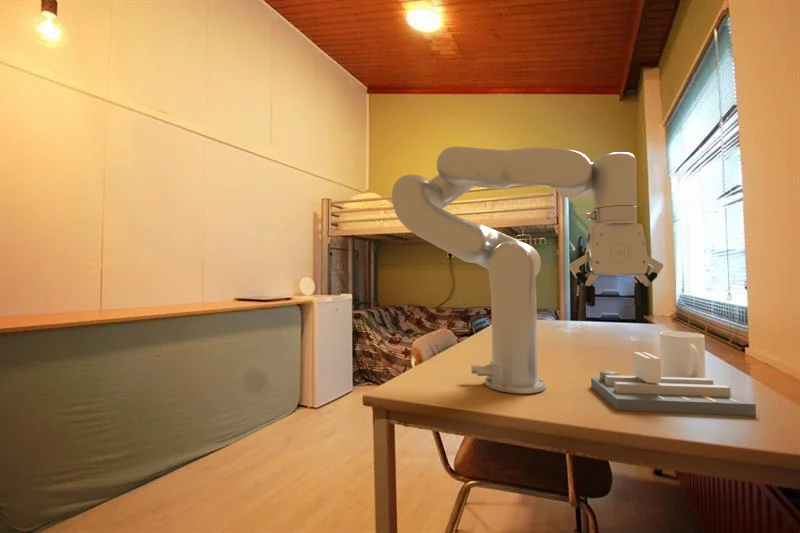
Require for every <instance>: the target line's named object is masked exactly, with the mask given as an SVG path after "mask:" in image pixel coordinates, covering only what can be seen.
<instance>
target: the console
mask: <svg viewBox="0 0 800 533" xmlns="http://www.w3.org/2000/svg"><path fill="white" fill-rule="evenodd" d="M636 377H637V376H636V375H620V373H619V372H616V371H612V370H601V371H599V377H591V378H590V382H591V384H590V388H592V389H593V390H594V391H595V392H596V393H597V394H598V395H599V396H601V398H603V399H604V400H605V401H606V402H607V403H608V404H610V405H611V406H612V407H613V408H614V409H615V410H616V411H628V412H629V411H630V412H631V411H632V412H633V411H634V412H650V413H652V412H653V413H654V412H655V413H656V412H657V413H676V414H677V413H679V414H680V413H681V414H683V413H684V414H699V415H700V414H701V415H721V416H722V415H725V416H747V417H748V416H750V417H756V416H757V405H756V403H754V402H752V401H749V400H747V399H745V398H743V397H741V396H739V395H736V394H734V393H732V392H731V387H729V386H728V385H724V384H721V385H720V384H714V380H713V379H712V378H710V377H705V378H684V377H662V376H661V383H639V382H636Z"/></svg>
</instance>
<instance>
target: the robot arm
mask: <svg viewBox="0 0 800 533" xmlns="http://www.w3.org/2000/svg"><path fill="white" fill-rule="evenodd" d="M637 168H638V167H637V159H636V157H635V155H634V154H633V153H630V152H624V151H623V152H622V151H621V152H611V153H607V154H604V155H601V156H598V157H597V158H596V159H595V160H594V161H593V162H591V161H590V159H589V158H588V157H587V155H585V154H583V153H582V152H579V151H578V150H577V151H576V150H574V149H573V150H572V149H564V148H555V147H554V148H553V147H540V146H539V147H538V146H537V147H536V146H535V147H525V148H515V149H514V148H513V149H493V148H483V147H482V148H481V147H471V146H470V147H469V146H450V147H447V148H444V149H443V150H441V152H440V154H439V155H438V156H437V160H436V170H437V172H438V175H437V174H436V176H435V177H433V178H432V179H428V178H426V177H424V176H421V175H419V174H405V175H403V176H400V177H399V178H398V179H397V180H396V181H395V182H394V184H393V186H392V191H391V204H392V206H393V210H394V213H395V215H396V217H397V218H398V220H399V221H400V223H401V224H402V225H403V226H404V228H406V229H407V230H409V231H410V232H411V233H412V234H414V235H415V236H417V237H419V238H421V239H423V240H425V241H426V242H427V243H430V244H432V245H434V246H435V247H437V248H439V249H441V250H443V251H445V252H446V253H448V254H451V255H453V256H454V257H456V258H458V259H459V260H461V261H464V262H466V263H471V264H477V265H479V266H481V267H483V268H485V269H487V270H488V277H489V286H490V299H491V300H490V304H491V306H490V308H491V353H492V354H491V359H492V360H489V364H485V365H479V364H478V365H476V364H472V365H471V367H470V368H471V375H476V376H477V377H483V376H485V379H484V383H485V385H486V386H487V387H488V388H490V389H492V390H494V391H495V390H496V391H498V392H503V393H509V394H523V395H524V394H525V395H526V394H536V393H540V392H543V391H544V390H545V389H546V381H545V380H544V379H542V378H540V377H539V374H538V373H539V372H538V371H539V369H538V368H539V367H538V365H539V364H538V361H539V360H538V314H537V311H538V308H537V307H538V306H537V304H538V303H537V288H536V286H537V285H536V277H537V275H538V274H539V273H540V270H541V266H542V260H541V257H540V254H539V252H538V251H537V250H536V248H534V247H533V246H532V245H530V244H528V243H525V242H522V241H520V239H519V240H518V239H516V238H514V237H512V236H510V235H507V234H505V233H503V232H501V231H498V230H495V229H493V228H491V227H489V226H486V225H484V224H481V223H479V222H475V221H470V220H468V219H464V218H462V217H460V216H457V215H455V214H453V213H451V212H449V211H448V210H445V208H446V207H447V206H448V205H450V204H452V203H453V202H455V201H456V200H457V199H459V198H461V197H462V196H463V195H465V194H466V193H467V192H469V191H470V190H471V189H473V188H474V187H479V188H486V189H495V190H506V189H508V188H511V187H514V186H519V185H520V186H524V185H525V186H536V187H546V188H553V189H555V191H556V192H557V193H558V194H559V195H560V196H562V197H563V198H568V199H575V198H581V197H587V196H591V195H592V210H591V211H590V212H586V214H585V219H586V220H590V221H591V223H592V224H590V226H589V228H588V229H589V230H588V232H587V233H588V234H587V240H586V245H585V246H586V247H585V254H584V255H582V256H581V257H579V258H578V259H576V260H574V261H572V262H571V263H569V264H568V268H569V270H570V271H571V272H572V275H573V276H574V278H575V279H576V280H577V281H578V282H580V283H581V285H583V301H584V303H585V304H586V306H588V307H591V308H592V307H595V306H596V286H594V284H593V283H594V282H595V281H596V280H597V279H598V277H599V276H631V278H632V279H633V281H634V282H635V283H636V285H634V288H633V289H634V290H633V292H634V293H633V296H634V299H633V301H634V306H635V307H640V308H646V303H648V287H649V286H650V285H651V284H652V283H653V282H654V280H656V279H657V278H658V275H659V274H660V272H661V271H662V269H663V268H664V264H663V263H662V262H660V261H658V260H656V259H654V258H653V257H651V256H649V255H648V249H647V240H646V237H645V231H644V227H643V223H638V218H637V216H638V214H637V213H638V211H637V210H638V209H637V208H638V207H637V206H638V203H637V201H638V199H637V197H638V196H637V195H638V194H637V188H638V186H637V185H638V184H637V183H638V182H637V176H638V175H637V173H638V172H637ZM584 264H585V265H584ZM582 265H584V266H585V272H586V274H583V273H582V271H581V270H580V266H582ZM648 267H650V269H649V268H648ZM648 269H649V272H648Z"/></svg>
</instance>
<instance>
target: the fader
mask: <svg viewBox="0 0 800 533" xmlns="http://www.w3.org/2000/svg"><path fill="white" fill-rule="evenodd" d="M632 356H633V376H637V377H636V382H639V383H661V377H662V376H661V360H660V357H658V356H655V355H653V354H651V353H648V352H645V351H633V355H632Z"/></svg>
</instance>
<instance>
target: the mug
mask: <svg viewBox="0 0 800 533" xmlns="http://www.w3.org/2000/svg"><path fill="white" fill-rule="evenodd" d="M705 339H706V338H705V335H704V334H701V333H697V332H689V331H688V332H687V331H674V330H673V331H670V330H669V331H668V330H667V331H666V330H665V331H660V332H659V358H660V360H661V377H684V378H706V353H705V352H706V351H705V350H706V348H705V347H706V342H705V341H706V340H705Z"/></svg>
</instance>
